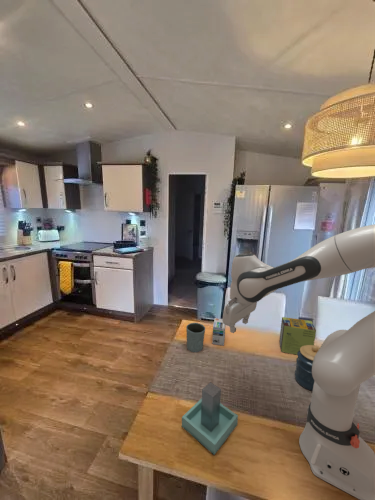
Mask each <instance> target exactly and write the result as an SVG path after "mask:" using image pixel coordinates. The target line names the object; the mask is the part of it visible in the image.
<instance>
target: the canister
mask: <svg viewBox="0 0 375 500" xmlns="http://www.w3.org/2000/svg"><path fill="white" fill-rule="evenodd" d="M319 349H320V347H319V346H317V345H315V344H314V345H305V346H302V347H301V348H300V350H299V351H298V353H297V355H296V356H297V357H296V361H295V362H296V364H295V370H294V379H295V381H296V383H297V384H299V385H300V386H301V387H303V388H304V389H305V390H308V391H311V392H313V385H314V382H315V381H314V379H313V376H312V364H313V359H314V357H315V355H316V353H317V352H318V350H319Z"/></svg>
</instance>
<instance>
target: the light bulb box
mask: <svg viewBox="0 0 375 500" xmlns="http://www.w3.org/2000/svg"><path fill="white" fill-rule="evenodd" d="M213 320H214V321H213V324H212V339H211V340H212V341H211V342H212V343H211V344H212V345H216V346H224V345H225V338H226V325H225V324H224V323H223V321H222V320H223V318H218V317H215V318H214V319H213Z"/></svg>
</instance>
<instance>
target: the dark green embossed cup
mask: <svg viewBox="0 0 375 500" xmlns="http://www.w3.org/2000/svg"><path fill="white" fill-rule="evenodd" d="M185 327H186V329H185V330H186V349H187V350H188V351H189V352H191V353H199V352H201V351H202V350H203V347H204V341H205V335H206V334H205V333H206V327H205V325H203V324H202V323H198V322H191V323H188V324H187V325H186V326H185Z"/></svg>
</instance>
